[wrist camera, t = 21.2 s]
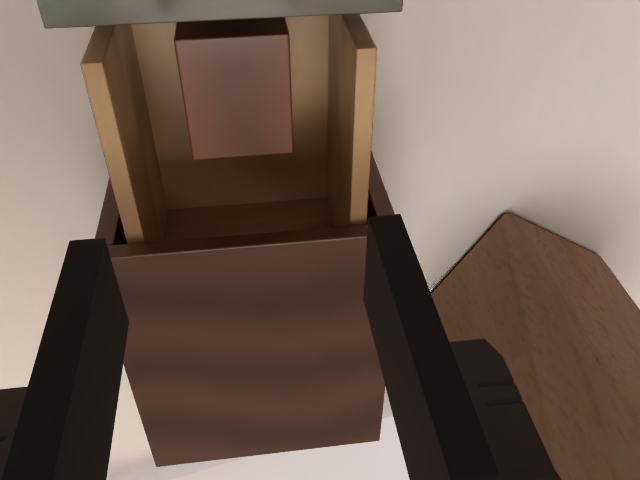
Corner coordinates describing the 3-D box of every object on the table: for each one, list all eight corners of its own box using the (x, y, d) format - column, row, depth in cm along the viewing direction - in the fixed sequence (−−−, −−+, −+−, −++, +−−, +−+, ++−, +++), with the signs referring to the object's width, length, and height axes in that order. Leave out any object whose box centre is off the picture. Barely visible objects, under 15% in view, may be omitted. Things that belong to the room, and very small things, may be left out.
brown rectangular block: (196, 99, 32) (192, 161, 27) (180, -11, 28) (173, 39, 24) (282, 93, 32) (293, 153, 28) (277, -15, 29) (289, 33, 24)
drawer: (36, -262, 23) (-39, -259, 16) (366, -263, 24) (425, -261, 17) (144, 210, 37) (128, 318, 30) (349, 194, 38) (378, 294, 32)
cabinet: (119, 134, 35) (89, 259, 27) (359, 118, 36) (402, 233, 28) (166, 334, 45) (155, 467, 37) (350, 316, 47) (379, 441, 39)
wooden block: (512, 337, 51) (640, 596, 36) (418, 303, 47) (517, 579, 32) (601, 254, 46) (793, 513, 31) (505, 207, 42) (671, 480, 27)
